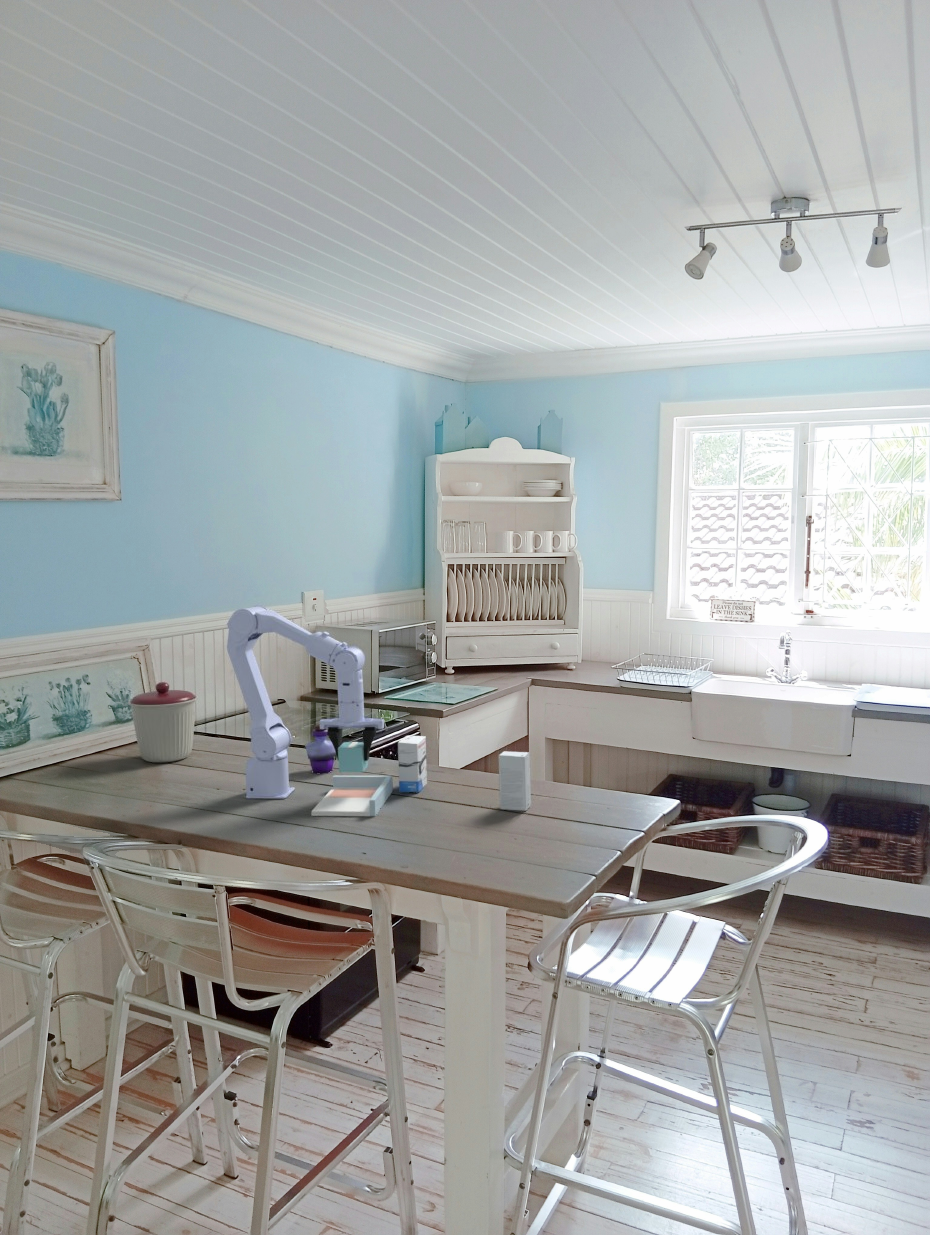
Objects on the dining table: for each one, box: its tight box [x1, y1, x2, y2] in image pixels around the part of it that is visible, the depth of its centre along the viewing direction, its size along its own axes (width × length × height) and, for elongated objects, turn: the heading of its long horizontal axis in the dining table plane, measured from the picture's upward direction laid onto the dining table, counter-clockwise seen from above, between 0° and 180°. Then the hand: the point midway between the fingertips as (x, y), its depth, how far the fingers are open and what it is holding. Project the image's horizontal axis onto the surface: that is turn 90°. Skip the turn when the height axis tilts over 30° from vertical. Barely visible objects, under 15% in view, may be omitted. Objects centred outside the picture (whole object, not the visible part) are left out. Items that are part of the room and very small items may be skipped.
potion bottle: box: [304, 723, 338, 775], centre depth 245 cm, size 9×9×12 cm
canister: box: [127, 681, 199, 763], centre depth 263 cm, size 18×18×21 cm
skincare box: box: [497, 750, 532, 812], centre depth 210 cm, size 6×4×12 cm
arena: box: [310, 774, 394, 817], centre depth 217 cm, size 14×20×4 cm
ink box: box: [397, 734, 428, 794], centre depth 227 cm, size 8×5×12 cm, turn 168°
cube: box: [337, 741, 369, 773], centre depth 220 cm, size 6×6×6 cm
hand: (353, 759), depth 220 cm, fingers closed on cube, 5 cm apart
